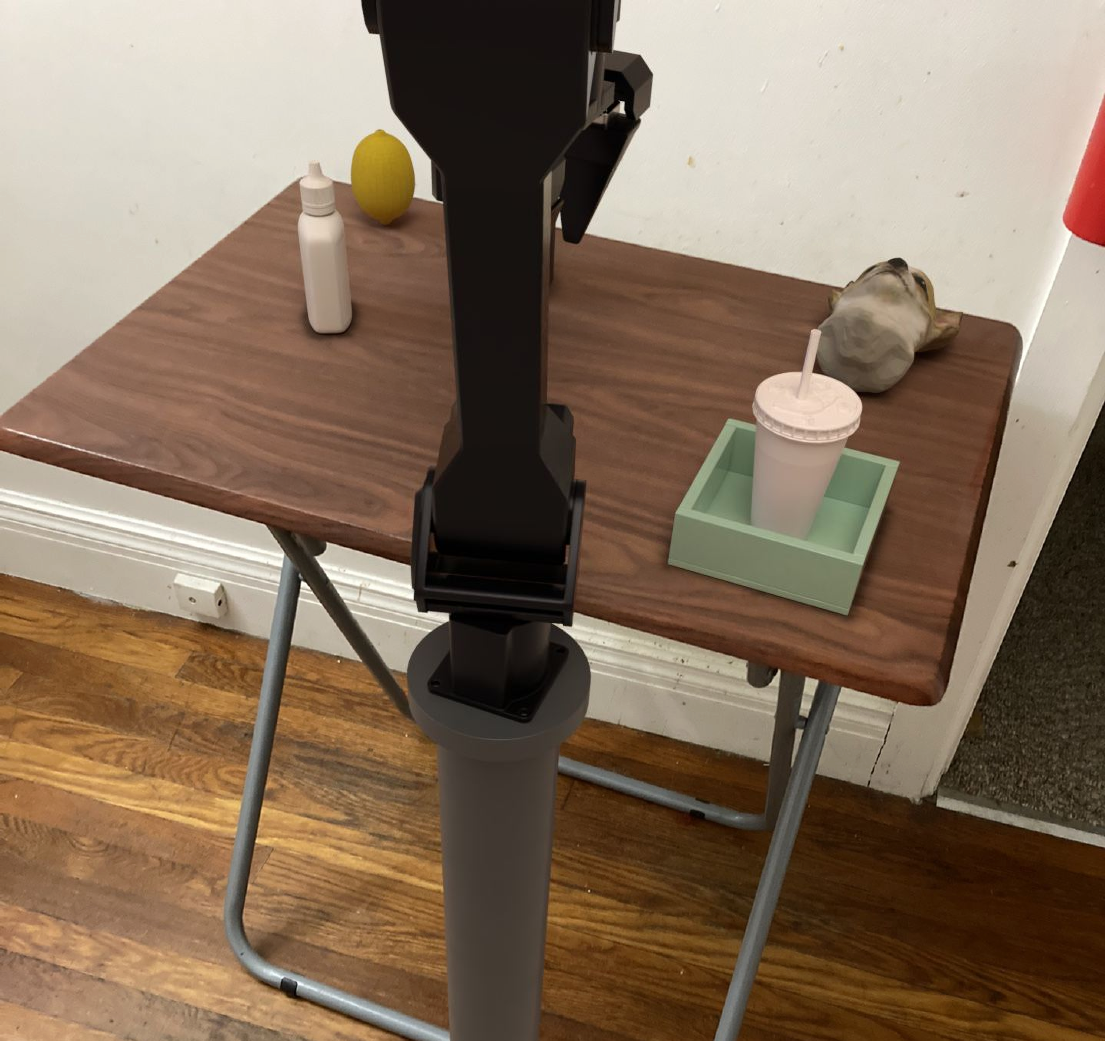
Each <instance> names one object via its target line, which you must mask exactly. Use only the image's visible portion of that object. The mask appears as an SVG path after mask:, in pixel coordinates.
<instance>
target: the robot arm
mask: <svg viewBox="0 0 1105 1041" xmlns="http://www.w3.org/2000/svg"><path fill="white" fill-rule="evenodd" d="M360 5H361V11H362V16H363V21H364V25H365V28H366V30H367V32H368V34H369V35H378V36H379V41H380V42H379V43H380V48H381V54H382V60H383V67H384V74H385V81H386V87H387V94H388V100H389V106H390V109H391V111H392V112H393V114H394V115H395V117H396V118H397V119H398V120H399V122H400V123H401V124H402V125H403V127H404V129H406V130H407V132H408V133H409V135H410V136H411V137H412V138H413V140H414V141H415V142H416V144H417V145H418V146H419V147H420V148H421V150H422V151H423V152H424V154H425V155H426V156H427V157H428V159H429V160H430V173H431V174H430V175H431V195H432V196H433V198H434V199H435V200H436V202H442V211H443V212H442V213H443V225H444V237H445V238H444V240H445V252H446V253H445V254H446V255H445V256H446V266H447V281H448V293H449V294H448V297H449V307H450V308H449V310H450V322H451V324H450V325H451V337H452V340H451V341H452V352H453V354H452V355H453V365H454V366H453V367H454V380H455V381H454V382H455V395H456V396H455V397H456V399H455V401H454V402H453V404H452V405H451V411H450V415H449V420H448V421H447V422H446V423H445V424H444V426H443V430H442V431H443V432H442V436H441V440H440V445H439V451H438V456H437V461H436V465H429V467H428V469H427V472H426V476H425V479H424V481H423V485H422V486H421V487H420V488H419V489H418V490H416V491H415V495H414V503H413V516H412V517H413V520H412V531H411V548H410V582H411V584H410V585H411V589H412V590H413V602H415V604H416V609H417V612H418V613H423V614H428V613H429V612H431V613H442V614H448V621H449V641H450V650H449V651H448V653H447V654H446V656H445V657H444V659H443V660H442V661H441V663H440V664H439V666H438V667H437V669H436V670H435V672H434V673H433V674H432V676H431V677H430V679H429V680H428V682H427V689H428V691H429V692H430V693H431V694H434V695H437V696H440V697H443V698H446V699H449V700H452V701H455V702H458V703H461V704H464V705H467V706H470V707H473V708H476V709H479V710H482V711H486V712H489V713H492V714H495V715H498V716H501V717H504V718H507V719H510V720H513V721H516V722H519V723H523V724H525V723H529V722H531V721H532V719H533V718H534V716H535V714H536V712H537V711H538V709H539V707H540V706H541V704H542V702H543V700H544V699H545V697H546V695H547V694H548V692H549V690H550V688H551V687H552V685H553V683H554V682H555V680H556V678H557V677H558V675H559V673H560V671H561V670H562V668H563V666H564V665H565V663H566V661H567V659H568V657H569V649H568V648H567V647H565V646H563V645H560V644H556V643H553V642H550V628H551V623H552V624H554V625H562V627H567V628H572V627H573V624H574V623H573V622H574V616H575V609H576V608H575V607H576V598H577V592H578V583H579V577H580V576H579V574H580V565H581V554H582V553H581V552H582V543H583V542H582V541H583V531H584V520H585V508H586V507H585V506H586V496H587V480H586V479H578V478H575V476H576V455H577V454H576V453H577V450H576V449H577V439H576V436H575V435H574V427H575V426H574V424H575V418H574V415H573V413H572V411H571V409H570V408H569V405H568V404H561V403H553V402H551V403H550V402H548V371H549V370H548V368H549V367H548V364H549V362H548V360H549V324H550V323H549V319H550V318H549V315H550V286H549V275H550V236H551V234H552V231H553V229H554V226H555V224H556V225H557V221H558V218H560V225H561V226H560V227H561V234H562V239H563V241H564V242H565V243H568V244H572V245H578V244H580V243H581V242H582V240H583V238H584V236H585V234H586V232H587V230H588V228H589V226H590V224H591V221H592V219H593V218H594V216H595V213H596V211H597V209H598V207H599V205H600V203H601V201H602V199H603V197H604V195H605V194H606V191H607V189H608V188H609V185H610V183H611V182H612V179H613V177H614V175H615V173H616V171H617V169H618V167H619V166H620V164H621V162H622V160H623V157H624V156H625V154H626V152H627V150H628V148H629V146H630V144H631V142H632V140H633V138H634V137H635V134H636V132H637V131H638V130H639V129H640V126H641V124H642V119H641V118H640V117H642V115H643V114H645V113H646V112H647V110H649V109H650V108H651V100H652V91H653V81H654V73H653V71H652V70H651V68H650V67H649V64H647V62H646V61H645V60H644V58H643V56H642V55H641V54H639V53H633V52H628V51H621V50H616V49H615V48H614V47H615V40H616V30H617V23H618V22H620V19H621V7H622V0H360ZM621 102H623V111H624V112H621ZM567 546H568V547H569V548H568V556H567ZM566 558H567V563H566ZM558 653H562V654H558ZM434 685H438V686H437V687H435V686H434ZM521 714H526V715H525V716H524V715H521Z"/></svg>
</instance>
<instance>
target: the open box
mask: <svg viewBox="0 0 1105 1041" xmlns="http://www.w3.org/2000/svg"><path fill="white" fill-rule="evenodd" d="M755 433H756V424H754V423H750V422H745V421H743V420H738V419H734V418H728V419H727V420H726V422H725V424H724V425H723V428H722V430H721V431H720V433H719V435H718V436H717V439H716V440H715V442H714V444H713V446H712V447H711V448H710V451H709V452H708V455H707V456H706V458H705V459H704V462H703V463H702V465H701V467H700V469H699V470H698V472H697V474H696V476H695V478H694V479H693V481H692V483H691V485H690V486H689V488H688V489H687V491H686V493H685V495H684V497H683V499H682V500H681V503H680V504H679V506H678V507H677V509H676V510H675V513H674V520H673V526H672V531H671V532H672V533H671V539H670V546H669V552H668V560H667V565H670V566H673V567H676V568H680V569H683V570H687V571H691V572H694V573H698V574H700V575H705V576H707V577H711V578H715V579H718V580H721V581H725V582H729V583H732V584H735V585H739V586H742V587H746V588H749V589H753V590H756V591H759V592H764V593H766V594H770V595H773V596H778V597H781V598H784V599H787V600H791V601H795V602H799V603H800V604H801V603H802V604H805V605H808V606H812V607H816V608H818V609H819V608H820V609H822V610H825V611H830V612H833V613H837V614H840V615H843V616H849V613H850V612H851V611H850V610H851V608H852V605H853V602H854V600H855V596H856V593H857V590H858V589H859V588H858V587H859V585H860V582H861V579H862V577H863V574H864V572H865V568H866V566H867V563H868V559H869V556H870V554H871V551H872V549H873V546H874V543H875V540H876V537H877V534H878V533H879V532H878V531H879V529H880V527H881V526H880V525H881V522H882V520H883V518H884V514H885V512H886V509H887V505H888V502H889V500H890V495H891V493H892V489H893V486H894V483H895V479H896V476H897V474H898V470H899V466H900V464H901V462H900V461H899V460H895V459H892V458H887V457H884V456H880V455H876V454H872V453H868V452H863V451H861V450H856V449H852V448H848V447H844V450H843V452H842V454H841V456H840V459H839V461H838V464H837V466H836V468H835V471H834V473H833V476H832V478H831V480H830V483H829V485H828V488H827V490H826V492H825V495H824V497H823V500H822V502H821V504H820V507H819V509H818V512H817V514H816V516H815V519H814V521H813V524H812V526H811V528H810V531H809V533H808V536H807V538H806V540H805V541H804V540H801V539H797V538H793V537H790V536H786V535H782V534H779V533H775V532H771V531H768V530H764V529H760V528H757V527H753V526H750V523H751V505H752V488H753V471H754V454H755Z"/></svg>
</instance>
